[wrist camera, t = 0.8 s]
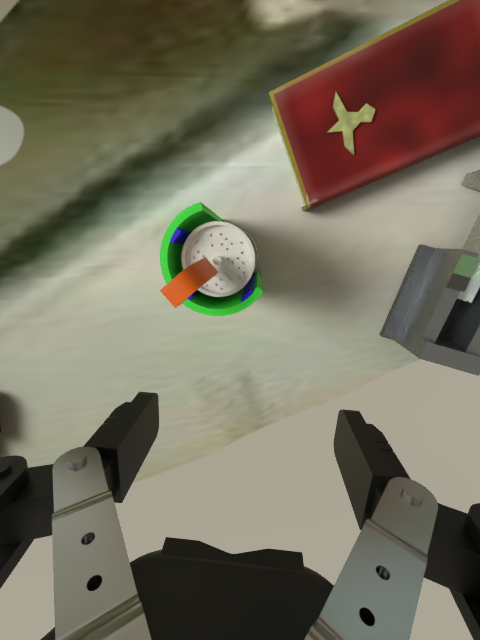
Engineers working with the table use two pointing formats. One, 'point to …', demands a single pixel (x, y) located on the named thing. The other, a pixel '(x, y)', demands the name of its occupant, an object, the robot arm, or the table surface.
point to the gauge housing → (438, 309)
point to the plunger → (472, 242)
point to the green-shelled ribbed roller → (209, 263)
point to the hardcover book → (383, 103)
